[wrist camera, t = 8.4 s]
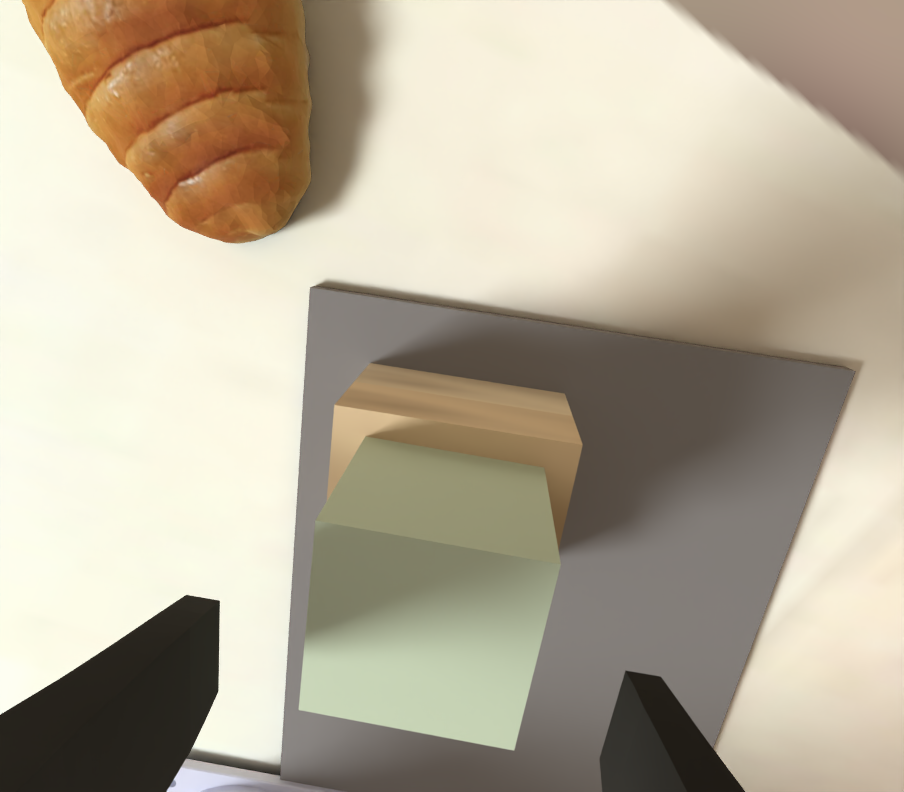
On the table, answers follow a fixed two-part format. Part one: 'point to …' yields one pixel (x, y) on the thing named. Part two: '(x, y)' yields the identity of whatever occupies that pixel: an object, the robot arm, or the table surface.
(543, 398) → the tower base slab
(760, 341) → the table surface
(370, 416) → the tower top slab
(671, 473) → the mat
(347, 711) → the green block
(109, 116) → the pastry
